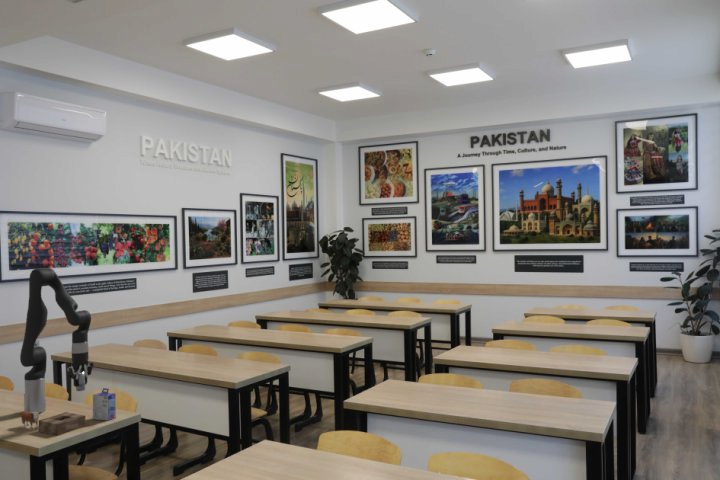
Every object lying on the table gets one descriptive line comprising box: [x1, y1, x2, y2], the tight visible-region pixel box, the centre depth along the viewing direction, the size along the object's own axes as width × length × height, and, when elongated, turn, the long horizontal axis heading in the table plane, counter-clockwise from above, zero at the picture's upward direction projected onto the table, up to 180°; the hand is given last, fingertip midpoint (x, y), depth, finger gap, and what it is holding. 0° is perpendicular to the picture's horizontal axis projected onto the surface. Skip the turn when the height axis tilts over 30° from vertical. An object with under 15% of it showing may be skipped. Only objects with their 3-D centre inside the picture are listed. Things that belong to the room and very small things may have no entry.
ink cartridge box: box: [92, 387, 117, 422], centre depth 282 cm, size 10×6×14 cm, turn 72°
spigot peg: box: [75, 371, 86, 392], centre depth 284 cm, size 4×4×9 cm
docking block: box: [38, 411, 87, 436], centre depth 268 cm, size 14×14×5 cm
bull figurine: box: [20, 410, 42, 429], centre depth 271 cm, size 4×13×8 cm, turn 58°
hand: (80, 385), depth 284 cm, fingers closed on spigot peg, 4 cm apart
